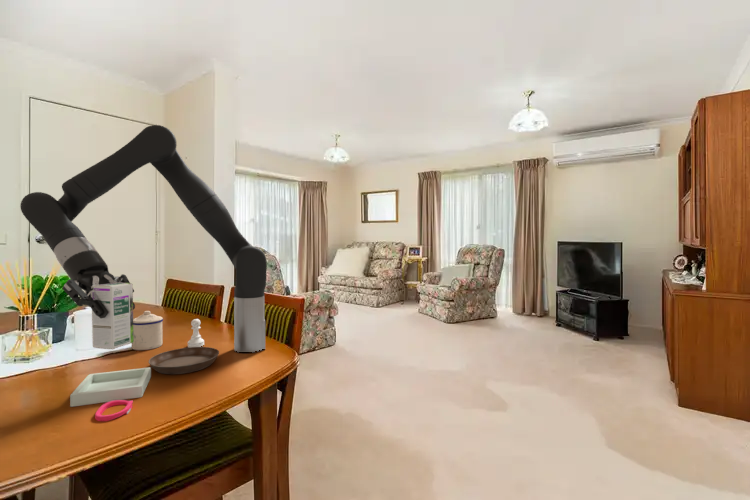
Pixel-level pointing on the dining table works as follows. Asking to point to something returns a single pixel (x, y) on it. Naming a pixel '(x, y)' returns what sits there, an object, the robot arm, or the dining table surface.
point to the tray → (111, 386)
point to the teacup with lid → (147, 331)
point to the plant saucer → (184, 360)
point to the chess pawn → (195, 335)
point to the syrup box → (114, 316)
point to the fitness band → (109, 417)
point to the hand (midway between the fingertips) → (118, 312)
